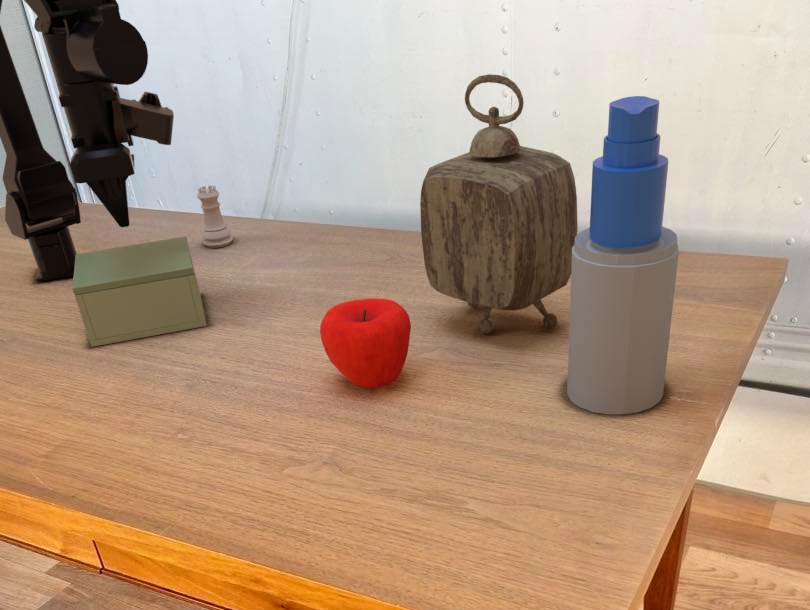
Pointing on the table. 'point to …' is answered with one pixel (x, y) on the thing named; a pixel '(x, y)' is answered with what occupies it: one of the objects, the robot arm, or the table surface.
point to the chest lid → (131, 265)
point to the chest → (142, 310)
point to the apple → (367, 340)
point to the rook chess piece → (213, 219)
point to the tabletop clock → (499, 219)
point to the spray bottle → (623, 271)
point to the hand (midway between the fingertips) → (125, 226)
